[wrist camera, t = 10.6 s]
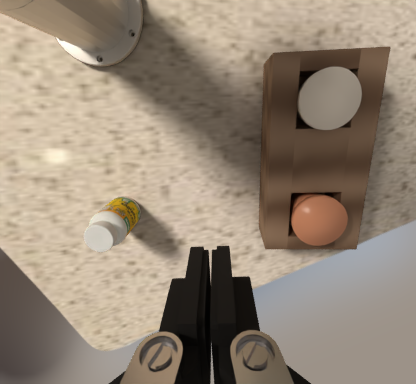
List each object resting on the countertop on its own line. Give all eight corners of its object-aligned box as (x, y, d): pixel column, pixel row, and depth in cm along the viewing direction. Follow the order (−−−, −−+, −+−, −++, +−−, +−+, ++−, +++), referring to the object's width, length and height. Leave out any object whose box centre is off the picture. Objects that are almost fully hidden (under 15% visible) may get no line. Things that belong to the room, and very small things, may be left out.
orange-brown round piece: (283, 183, 35) (295, 197, 29) (330, 182, 34) (351, 196, 29) (281, 225, 37) (291, 245, 31) (325, 224, 36) (343, 245, 31)
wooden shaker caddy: (263, 64, 33) (273, 52, 27) (356, 60, 32) (390, 46, 26) (258, 226, 41) (265, 249, 34) (334, 226, 40) (356, 249, 33)
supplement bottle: (103, 204, 41) (69, 230, 32) (129, 189, 40) (101, 212, 31) (122, 230, 43) (94, 262, 33) (147, 216, 41) (126, 246, 32)
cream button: (288, 76, 32) (302, 67, 26) (340, 73, 31) (366, 64, 25) (285, 127, 33) (297, 131, 28) (334, 126, 33) (356, 129, 27)
